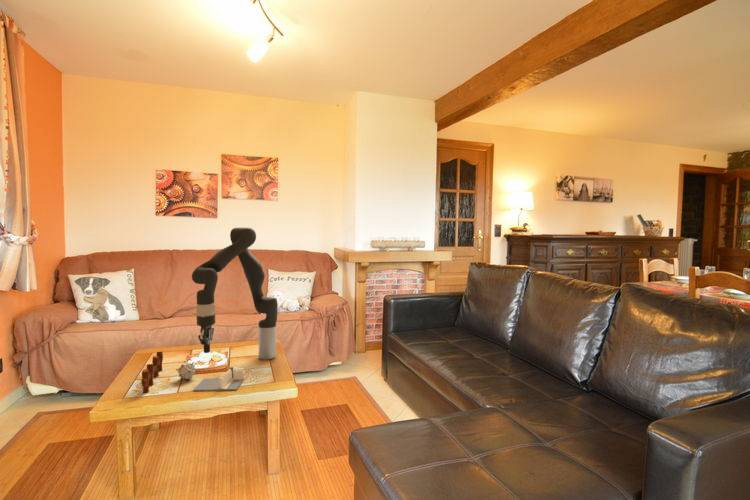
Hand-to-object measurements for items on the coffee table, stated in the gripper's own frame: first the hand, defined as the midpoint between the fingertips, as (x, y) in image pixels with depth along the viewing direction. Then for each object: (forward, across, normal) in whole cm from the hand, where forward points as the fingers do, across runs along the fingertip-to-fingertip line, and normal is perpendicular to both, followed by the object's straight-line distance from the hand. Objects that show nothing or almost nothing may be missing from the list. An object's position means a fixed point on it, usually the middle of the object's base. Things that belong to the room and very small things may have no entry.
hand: (207, 352), depth 172 cm
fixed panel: (+16, -9, +11) cm, 22 cm away
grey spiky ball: (+16, -11, -13) cm, 24 cm away
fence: (+16, -10, -28) cm, 34 cm away
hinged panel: (+15, -3, +7) cm, 17 cm away
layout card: (+16, -3, +4) cm, 17 cm away
